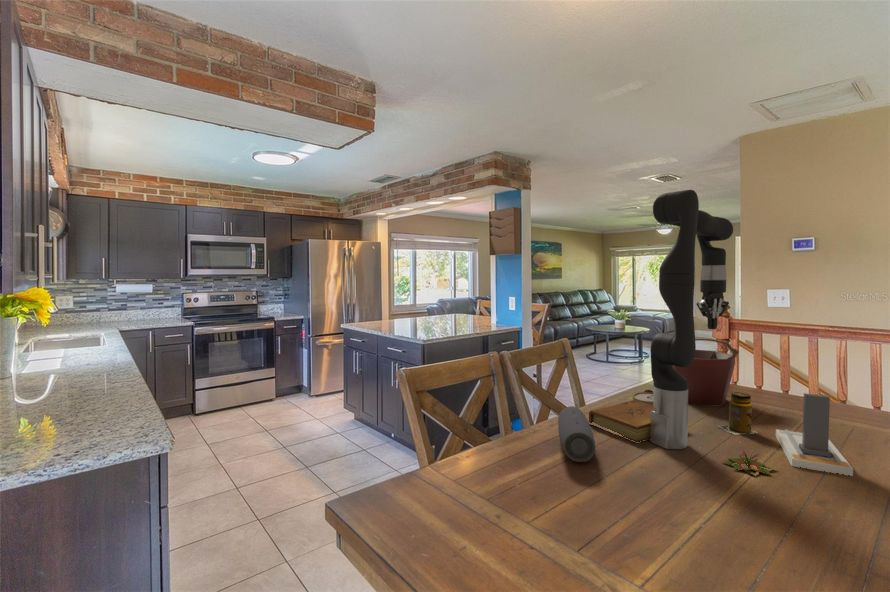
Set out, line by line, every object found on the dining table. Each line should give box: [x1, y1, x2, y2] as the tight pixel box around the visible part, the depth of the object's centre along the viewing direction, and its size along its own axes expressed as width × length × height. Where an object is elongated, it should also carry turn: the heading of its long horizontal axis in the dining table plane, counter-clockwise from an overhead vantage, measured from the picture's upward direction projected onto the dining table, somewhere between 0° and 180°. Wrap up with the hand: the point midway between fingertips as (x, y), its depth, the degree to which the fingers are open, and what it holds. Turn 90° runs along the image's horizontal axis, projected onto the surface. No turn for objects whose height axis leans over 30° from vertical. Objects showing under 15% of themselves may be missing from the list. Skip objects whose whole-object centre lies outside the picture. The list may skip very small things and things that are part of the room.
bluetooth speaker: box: [557, 405, 596, 463], centre depth 124 cm, size 23×9×10 cm, turn 168°
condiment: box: [716, 391, 758, 436], centre depth 137 cm, size 7×8×12 cm
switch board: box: [775, 428, 854, 477], centre depth 119 cm, size 24×12×3 cm, turn 150°
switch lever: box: [799, 392, 832, 457], centre depth 114 cm, size 4×6×16 cm, turn 60°
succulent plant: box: [720, 450, 777, 476], centre depth 112 cm, size 12×12×5 cm
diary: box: [588, 399, 653, 443], centre depth 142 cm, size 23×19×6 cm
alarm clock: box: [632, 389, 654, 405], centre depth 166 cm, size 11×5×15 cm
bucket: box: [672, 337, 739, 406], centre depth 170 cm, size 24×22×25 cm
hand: (712, 328), depth 146 cm, fingers closed
